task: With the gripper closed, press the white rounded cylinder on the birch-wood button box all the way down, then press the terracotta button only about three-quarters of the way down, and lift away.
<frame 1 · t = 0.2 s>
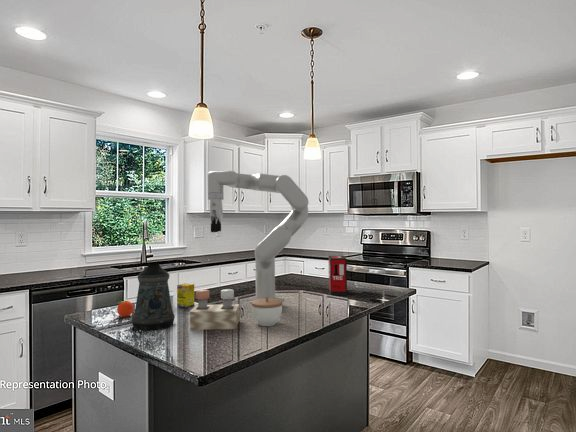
hand: (216, 231, 195), 37 cm above the table, tool pointing down, fingers open, 9 cm apart
lidded bowl: (267, 324, 163), on the table
supplement box: (185, 307, 195), on the table
beer stein: (152, 325, 163), on the table
clementine: (124, 317, 177), on the table
button box: (215, 325, 162), on the table
terracotta button: (202, 301, 162), point 10 cm above the table, slide at 0.0 cm
cleaning product box: (337, 292, 228), on the table
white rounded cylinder: (227, 301, 162), point 10 cm above the table, slide at 0.0 cm
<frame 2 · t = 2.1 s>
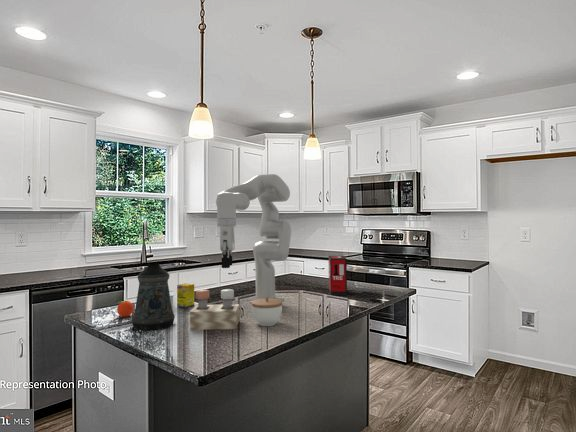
hand: (227, 266, 162), 24 cm above the table, tool pointing down, fingers open, 7 cm apart
nothing on the table moved.
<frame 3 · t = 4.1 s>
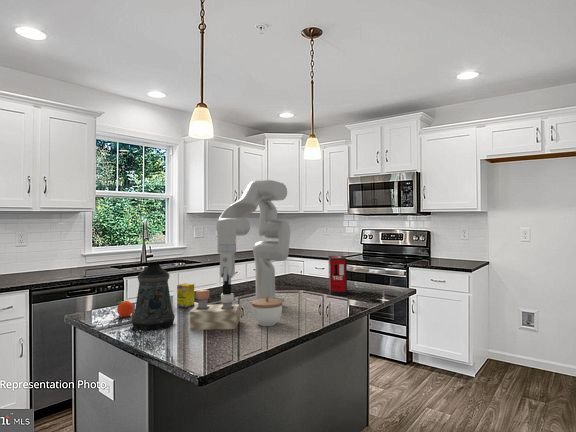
hand: (227, 294, 162), 13 cm above the table, tool pointing down, fingers closed
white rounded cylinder: (227, 305, 162), point 8 cm above the table, slide at 1.4 cm, touching gripper
everything else where it was.
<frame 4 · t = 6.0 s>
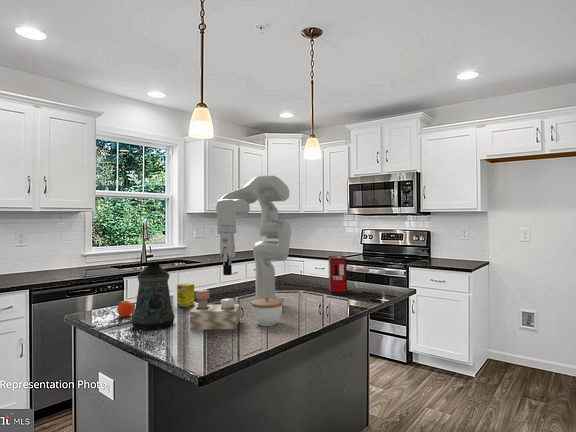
hand: (227, 274, 162), 20 cm above the table, tool pointing down, fingers closed
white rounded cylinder: (227, 310, 162), point 6 cm above the table, slide at 3.8 cm
everything else where it was.
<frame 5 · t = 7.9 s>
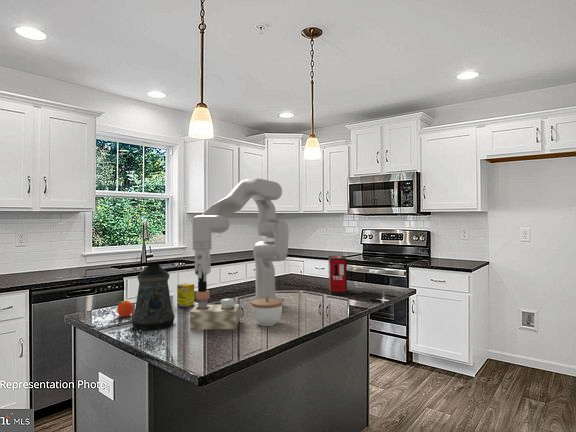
hand: (202, 291, 162), 14 cm above the table, tool pointing down, fingers closed
terracotta button: (202, 302, 162), point 9 cm above the table, slide at 0.2 cm, touching gripper
everything else where it was.
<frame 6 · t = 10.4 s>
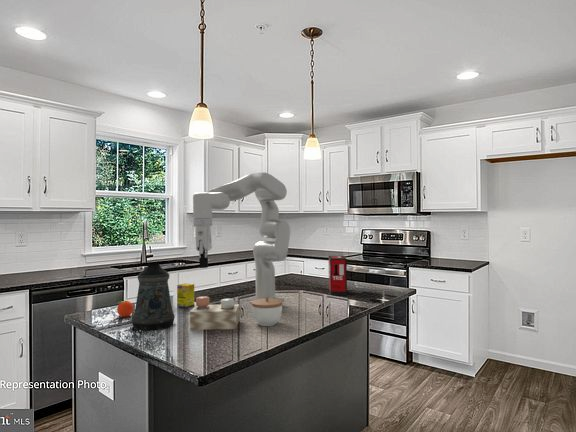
hand: (203, 267, 163), 23 cm above the table, tool pointing down, fingers closed
terracotta button: (202, 308, 162), point 7 cm above the table, slide at 2.8 cm
everything else where it was.
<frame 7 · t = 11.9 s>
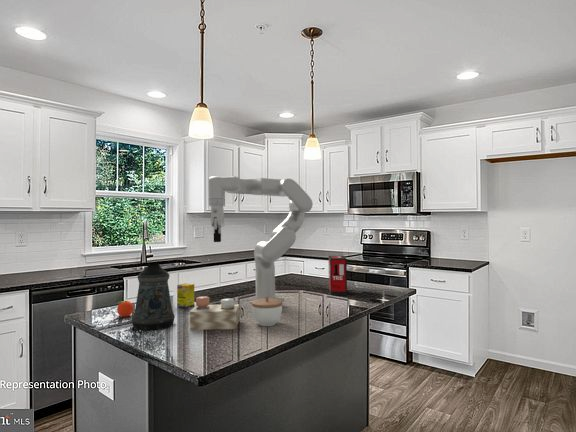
hand: (217, 241, 188), 32 cm above the table, tool pointing down, fingers closed
nothing on the table moved.
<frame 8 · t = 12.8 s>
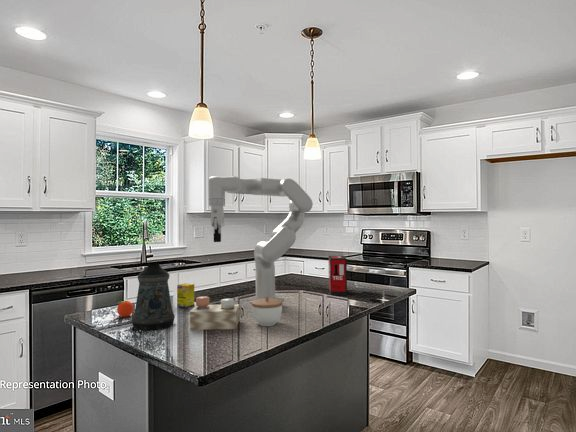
hand: (217, 241, 188), 32 cm above the table, tool pointing down, fingers closed
nothing on the table moved.
at the end: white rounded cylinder slide at 3.8 cm; terracotta button slide at 2.8 cm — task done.
